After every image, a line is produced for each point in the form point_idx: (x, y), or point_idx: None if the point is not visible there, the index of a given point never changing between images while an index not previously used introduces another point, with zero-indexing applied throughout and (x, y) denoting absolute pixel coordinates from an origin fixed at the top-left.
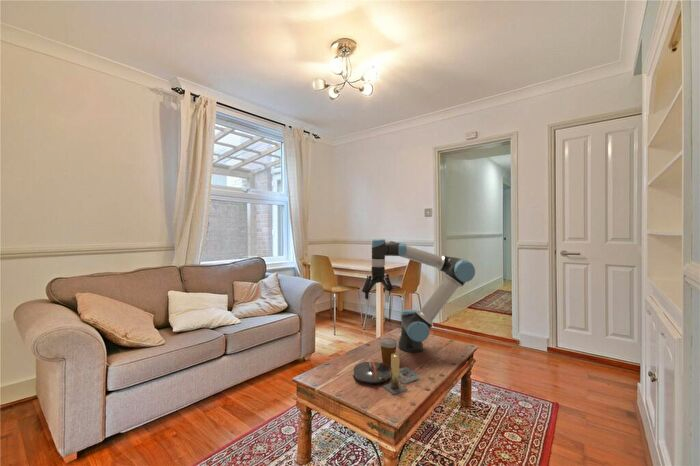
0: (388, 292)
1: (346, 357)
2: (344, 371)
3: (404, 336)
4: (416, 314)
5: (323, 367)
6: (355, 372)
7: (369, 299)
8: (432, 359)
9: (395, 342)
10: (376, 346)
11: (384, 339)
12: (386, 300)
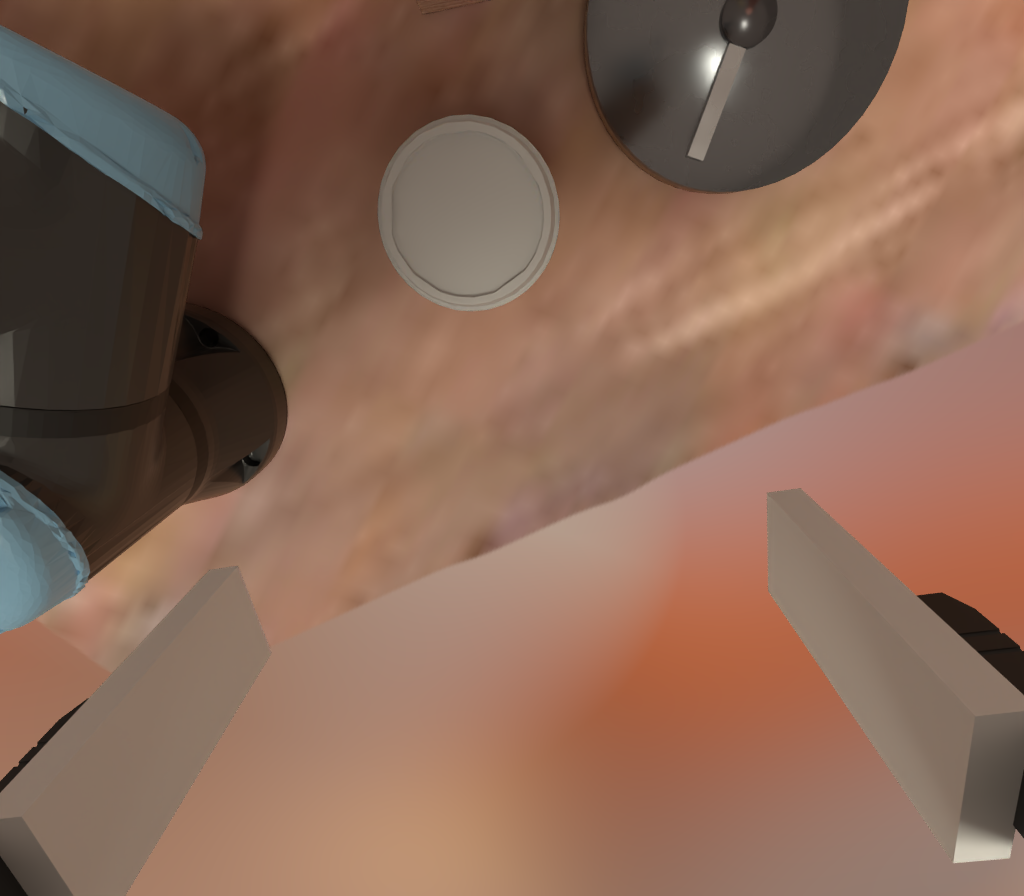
0: (44, 770)
1: (729, 416)
2: (861, 210)
3: (202, 411)
4: None
5: (958, 328)
6: (898, 26)
7: (856, 570)
8: None
9: (414, 144)
10: (437, 504)
11: (481, 286)
12: (240, 631)
